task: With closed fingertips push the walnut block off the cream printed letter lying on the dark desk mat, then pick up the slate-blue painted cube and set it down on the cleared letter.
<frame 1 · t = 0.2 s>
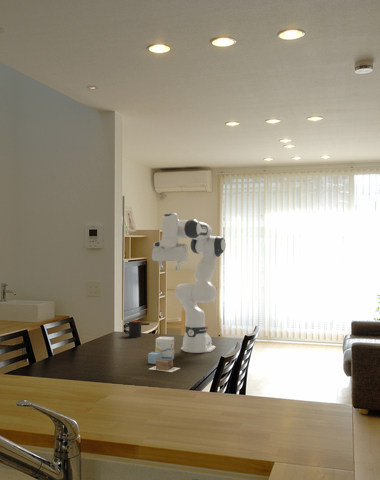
hand: (169, 269, 254), 48 cm above the table, fingers open, 8 cm apart
letter: (164, 368, 233), resting on desk mat
ink box: (164, 360, 255), on the table
desk mat: (160, 367, 238), on the table
mug: (132, 336, 330), on the table
cube: (154, 362, 246), resting on desk mat
walnut block: (164, 368, 233), point 1 cm above the table, touching letter
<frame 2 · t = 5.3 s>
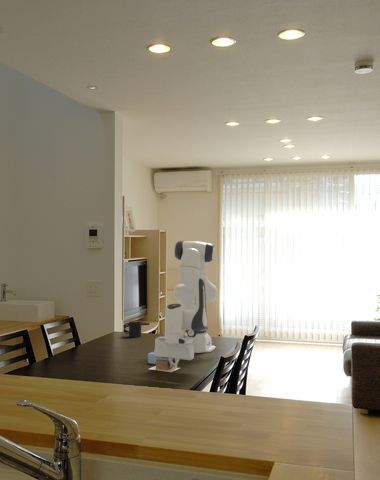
hand: (173, 367, 231), 2 cm above the table, fingers closed
walnut block: (164, 368, 233), point 1 cm above the table, touching gripper
everything else where it was.
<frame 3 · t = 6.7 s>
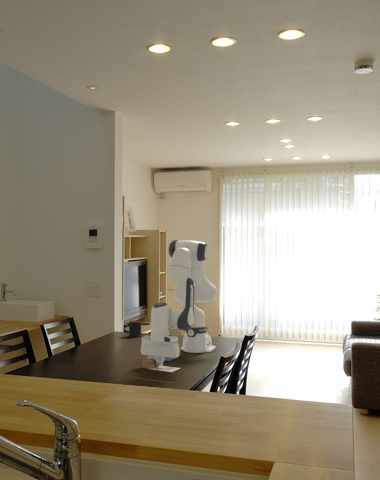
hand: (159, 365, 234), 2 cm above the table, fingers closed
walnut block: (150, 367, 236), resting on desk mat, touching gripper
everything else where it was.
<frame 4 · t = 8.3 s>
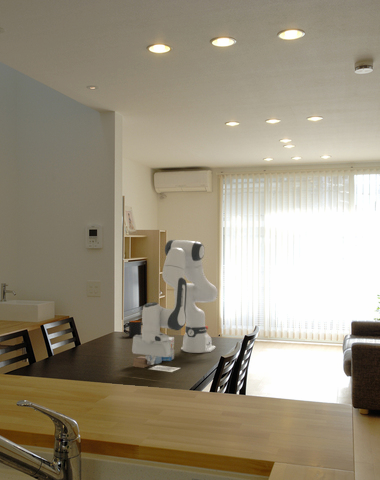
hand: (150, 364, 237), 2 cm above the table, fingers closed
walnut block: (141, 366, 239), resting on desk mat, touching gripper
everything else where it was.
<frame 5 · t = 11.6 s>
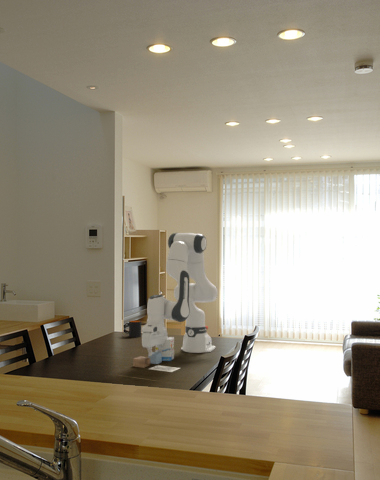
hand: (155, 354, 245), 5 cm above the table, fingers open, 7 cm apart
ink box: (164, 360, 255), on the table, touching gripper
walnut block: (141, 366, 239), resting on desk mat
everything else where it was.
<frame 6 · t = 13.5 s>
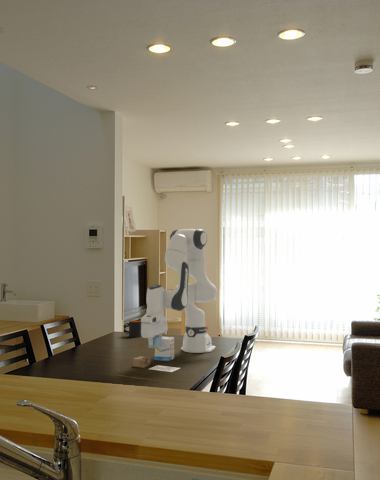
hand: (155, 343, 247), 10 cm above the table, fingers closed on cube, 5 cm apart
ink box: (164, 360, 255), on the table
cube: (155, 347, 247), point 8 cm above the table, touching gripper
everything else where it was.
when the fingers open (4 cm above the table, at t = 17.7 s): cube drops 1 cm, resting on letter.
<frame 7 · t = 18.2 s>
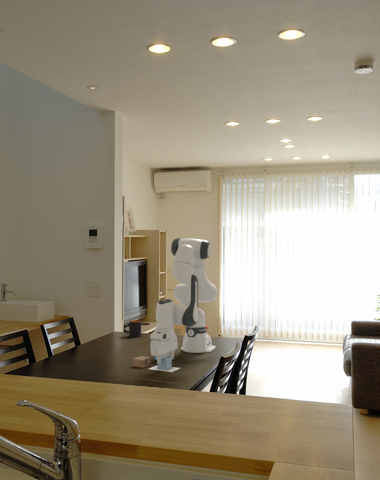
hand: (164, 362, 233), 4 cm above the table, fingers open, 8 cm apart
cube: (164, 368, 233), point 1 cm above the table, touching letter
everything else where it was.
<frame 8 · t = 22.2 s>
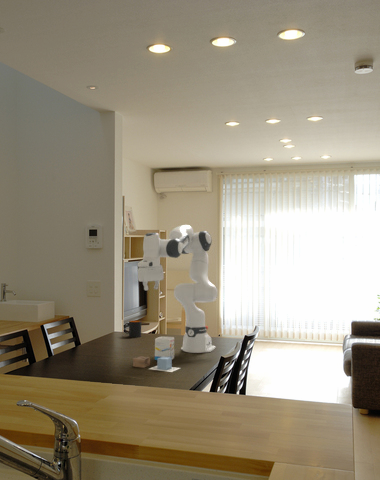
hand: (151, 289, 253), 37 cm above the table, fingers open, 8 cm apart
nothing on the table moved.
at the end: cube inside the target area on the letter (0.1 cm from its centre), point 0.2 cm above the letter's base; cube tilted 0°; walnut block inside the target area (3.6 cm from its centre), resting on desk mat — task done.
